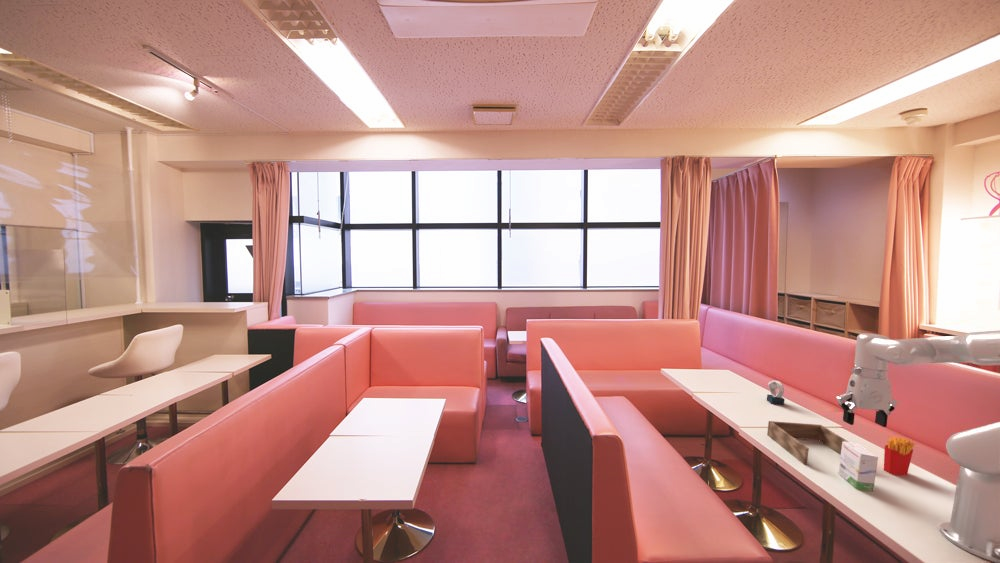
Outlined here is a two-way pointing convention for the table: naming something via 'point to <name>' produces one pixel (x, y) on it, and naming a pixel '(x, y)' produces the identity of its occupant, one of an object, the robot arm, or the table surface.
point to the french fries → (898, 455)
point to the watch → (773, 397)
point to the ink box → (858, 466)
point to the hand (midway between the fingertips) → (864, 424)
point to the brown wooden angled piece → (802, 437)
